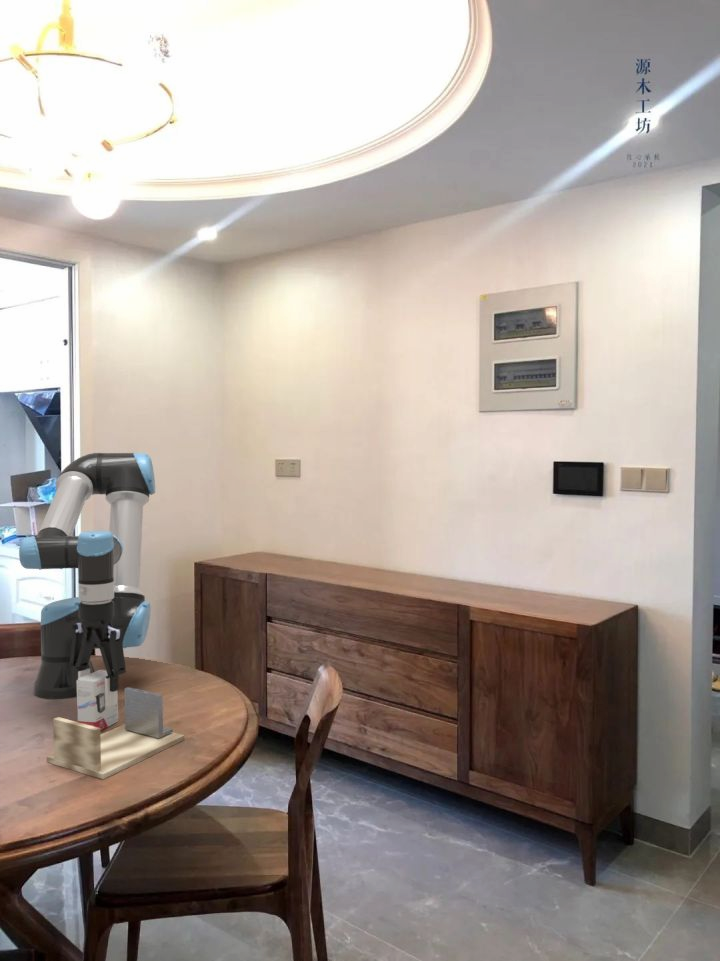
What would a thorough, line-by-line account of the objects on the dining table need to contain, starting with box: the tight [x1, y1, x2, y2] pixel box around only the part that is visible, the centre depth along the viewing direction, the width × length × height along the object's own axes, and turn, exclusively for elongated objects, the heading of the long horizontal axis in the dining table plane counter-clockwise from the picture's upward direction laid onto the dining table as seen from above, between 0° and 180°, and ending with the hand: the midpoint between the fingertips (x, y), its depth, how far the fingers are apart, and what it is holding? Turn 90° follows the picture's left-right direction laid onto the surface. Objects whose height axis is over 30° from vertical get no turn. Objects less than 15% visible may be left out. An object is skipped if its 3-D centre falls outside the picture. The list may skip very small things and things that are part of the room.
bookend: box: [124, 686, 174, 738], centre depth 161 cm, size 10×4×9 cm, turn 60°
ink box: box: [76, 669, 119, 732], centre depth 166 cm, size 9×5×12 cm, turn 162°
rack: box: [46, 716, 185, 780], centre depth 153 cm, size 16×22×9 cm
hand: (97, 701), depth 166 cm, fingers open, 8 cm apart
